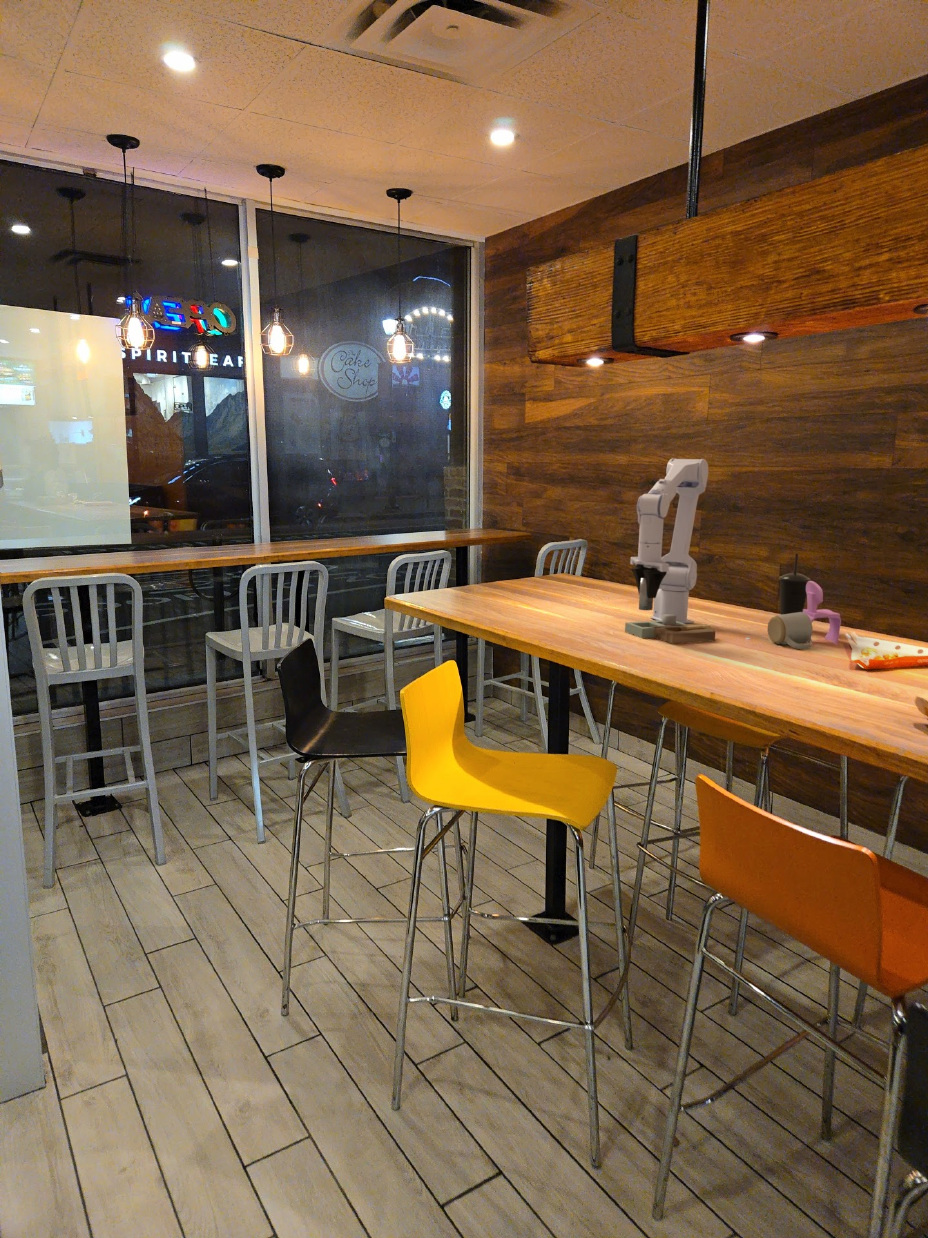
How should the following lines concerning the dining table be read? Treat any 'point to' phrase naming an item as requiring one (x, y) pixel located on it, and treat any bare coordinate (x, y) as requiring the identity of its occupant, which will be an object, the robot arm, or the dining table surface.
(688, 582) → the robot arm
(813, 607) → the toy chair
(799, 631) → the ceramic mug
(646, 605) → the grey metal cylinder
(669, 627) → the socket block
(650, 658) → the dining table surface
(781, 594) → the drinking cup
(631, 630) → the rack
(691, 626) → the brown rectangular block
